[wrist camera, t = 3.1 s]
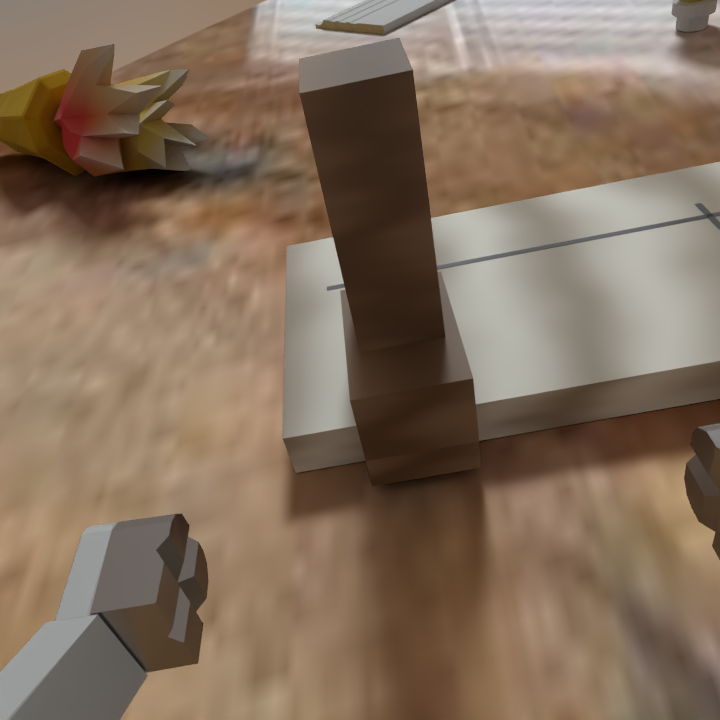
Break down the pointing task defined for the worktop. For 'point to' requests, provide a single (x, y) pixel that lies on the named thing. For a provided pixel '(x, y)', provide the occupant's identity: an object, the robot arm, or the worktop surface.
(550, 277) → the birch board
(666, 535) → the worktop surface
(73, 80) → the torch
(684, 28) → the light bulb
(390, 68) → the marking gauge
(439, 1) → the baseboard molding
